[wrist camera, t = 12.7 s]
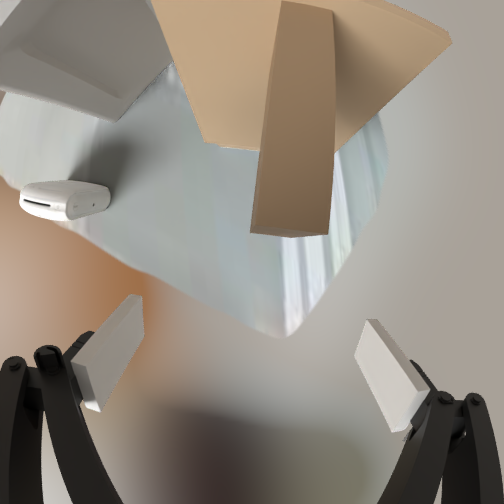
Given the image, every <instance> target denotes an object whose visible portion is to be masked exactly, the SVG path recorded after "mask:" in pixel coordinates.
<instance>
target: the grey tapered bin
mask: <svg viewBox="0 0 504 504" xmlns="http://www.w3.org/2000/svg"><path fill="white" fill-rule="evenodd" d="M172 61H173V58H172V55H171V53H170V50H169V47H168V45H167V42H166V40H165V37H164V34H163V32H162V29H161V26H160V24H159V21H158V18H157V16H156V13H155V10H154V8H153V5H152V2H151V0H0V90H1V91H6V92H10V93H14V94H18V95H22V96H26V97H30V98H34V99H38V100H41V101H45V102H48V103H52V104H55V105H59V106H62V107H65V108H69V109H72V110H75V111H78V112H81V113H85V114H88V115H91V116H94V117H97V118H100V119H103V120H105V121H108V122H111V123H116V122H117V121H118V120H119V119H120V117H121V116H122V115H123V114H124V113H125V111H126V110H127V109H128V108H129V107H130V105H131V104H132V103H133V102H134V101H135V100H136V99H137V97H138V96H139V95H140V94H141V93H142V92H143V91H144V90H145V89H146V88H147V86H148V85H149V84H150V83H151V82H152V81H153V80H154V79H155V78H156V77H157V76H158V75H159V74H160V73H161V72H162V71H163V70H164V69H165V68H166V67H167V66H168V65H169V64H170V63H171V62H172Z"/></svg>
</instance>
